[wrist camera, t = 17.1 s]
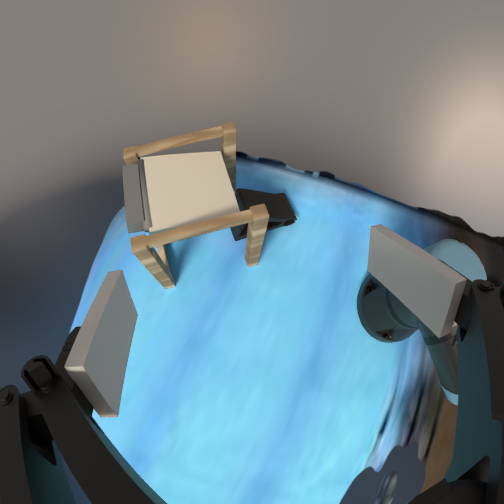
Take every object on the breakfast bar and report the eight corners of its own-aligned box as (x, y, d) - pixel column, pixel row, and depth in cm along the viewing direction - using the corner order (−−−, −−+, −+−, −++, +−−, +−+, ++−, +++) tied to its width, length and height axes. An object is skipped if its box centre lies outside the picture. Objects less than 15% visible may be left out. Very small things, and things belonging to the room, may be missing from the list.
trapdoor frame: (258, 264, 54) (269, 216, 36) (165, 289, 51) (132, 252, 34) (232, 187, 60) (233, 122, 42) (150, 207, 57) (123, 149, 40)
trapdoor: (237, 226, 42) (242, 217, 40) (129, 242, 36) (127, 233, 34) (217, 161, 47) (220, 149, 44) (123, 170, 41) (122, 158, 38)
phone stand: (225, 215, 57) (276, 208, 62) (234, 241, 55) (286, 232, 60) (237, 188, 50) (293, 183, 55) (248, 216, 48) (306, 208, 53)
